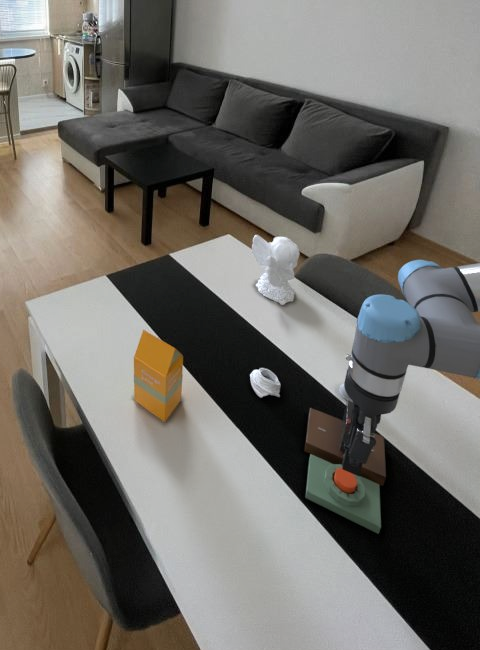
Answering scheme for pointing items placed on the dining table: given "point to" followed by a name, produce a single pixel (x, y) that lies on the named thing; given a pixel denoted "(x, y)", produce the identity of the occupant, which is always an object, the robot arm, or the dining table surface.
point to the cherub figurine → (276, 267)
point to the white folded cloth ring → (265, 383)
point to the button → (345, 480)
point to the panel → (327, 445)
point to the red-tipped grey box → (345, 425)
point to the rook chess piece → (344, 392)
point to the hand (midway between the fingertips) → (350, 469)
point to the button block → (344, 495)
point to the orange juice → (157, 376)
